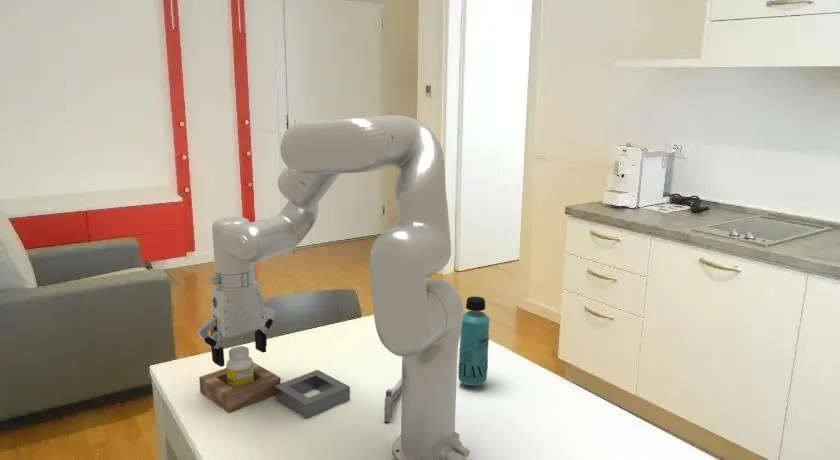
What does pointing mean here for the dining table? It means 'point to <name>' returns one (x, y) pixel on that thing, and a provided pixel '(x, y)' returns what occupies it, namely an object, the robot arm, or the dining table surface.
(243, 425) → the dining table surface
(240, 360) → the supplement bottle
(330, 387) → the socket block
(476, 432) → the dining table surface
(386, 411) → the caliper
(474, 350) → the beverage bottle
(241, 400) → the block
